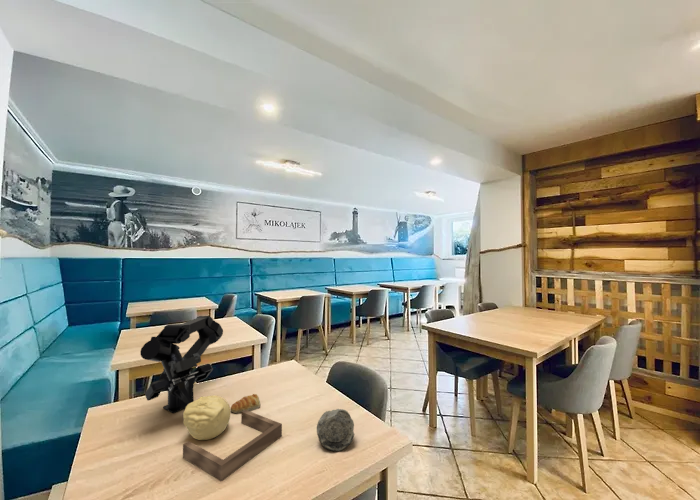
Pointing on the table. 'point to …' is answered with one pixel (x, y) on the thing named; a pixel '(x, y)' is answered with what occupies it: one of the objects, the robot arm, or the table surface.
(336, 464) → the table surface
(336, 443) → the fossil
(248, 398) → the pastry
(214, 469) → the frame
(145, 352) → the robot arm
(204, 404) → the sculpture
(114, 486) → the table surface
